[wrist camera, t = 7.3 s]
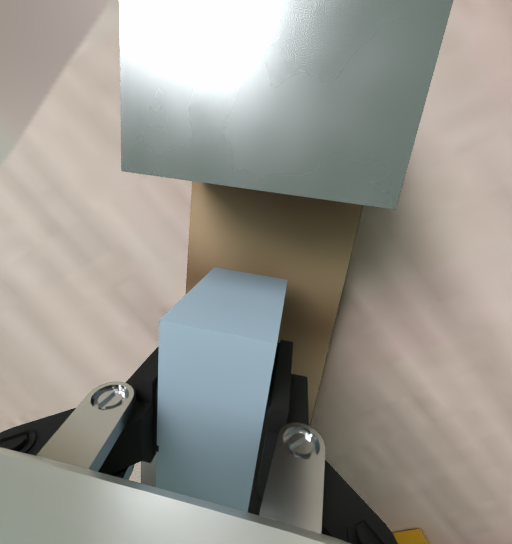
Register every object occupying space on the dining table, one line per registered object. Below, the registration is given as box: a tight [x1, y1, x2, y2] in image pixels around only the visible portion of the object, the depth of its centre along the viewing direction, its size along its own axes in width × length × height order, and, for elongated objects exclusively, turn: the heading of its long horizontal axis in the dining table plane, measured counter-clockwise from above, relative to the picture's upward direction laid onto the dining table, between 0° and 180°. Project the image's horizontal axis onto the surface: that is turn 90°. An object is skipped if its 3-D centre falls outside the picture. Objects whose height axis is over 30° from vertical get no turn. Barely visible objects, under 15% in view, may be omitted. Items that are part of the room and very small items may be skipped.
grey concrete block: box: [119, 0, 453, 210], centre depth 9 cm, size 4×7×6 cm, turn 82°
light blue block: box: [156, 267, 287, 512], centre depth 11 cm, size 10×3×5 cm, turn 172°
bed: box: [141, 181, 363, 516], centre depth 13 cm, size 20×8×6 cm, turn 172°
